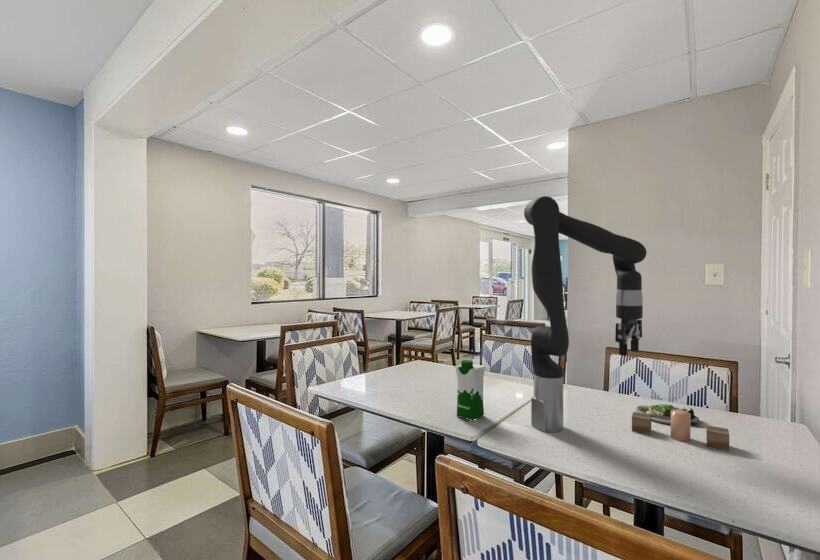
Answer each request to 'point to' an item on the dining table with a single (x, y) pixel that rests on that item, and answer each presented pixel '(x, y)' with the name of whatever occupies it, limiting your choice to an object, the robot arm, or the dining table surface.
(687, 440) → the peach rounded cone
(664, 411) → the salad plate
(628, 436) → the dining table surface
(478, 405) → the milk carton
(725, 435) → the front walnut cube
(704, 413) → the dining table surface
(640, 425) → the back walnut cube
